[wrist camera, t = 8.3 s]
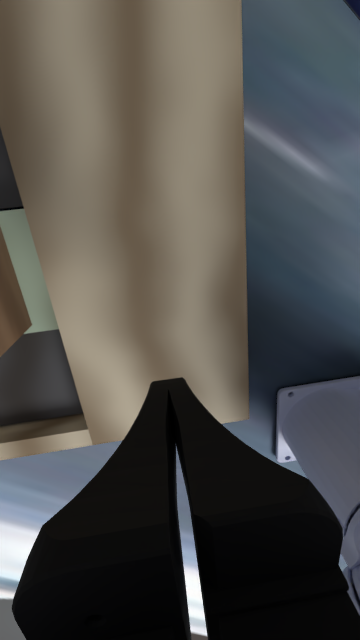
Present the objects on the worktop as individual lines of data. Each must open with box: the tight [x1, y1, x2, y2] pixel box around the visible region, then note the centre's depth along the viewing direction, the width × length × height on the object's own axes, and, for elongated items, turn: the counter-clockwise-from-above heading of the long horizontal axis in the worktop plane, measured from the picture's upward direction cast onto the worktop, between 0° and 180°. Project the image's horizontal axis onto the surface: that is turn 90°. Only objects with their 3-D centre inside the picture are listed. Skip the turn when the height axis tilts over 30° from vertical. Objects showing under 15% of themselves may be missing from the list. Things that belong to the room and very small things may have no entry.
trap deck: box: [0, 0, 249, 460], centre depth 17 cm, size 22×26×2 cm
